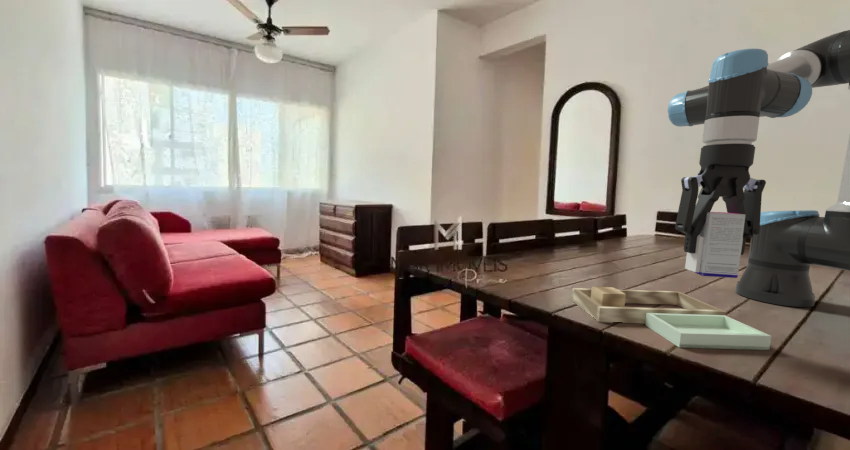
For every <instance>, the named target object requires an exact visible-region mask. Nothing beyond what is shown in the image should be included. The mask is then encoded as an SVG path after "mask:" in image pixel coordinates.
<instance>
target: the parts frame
mask: <svg viewBox="0 0 850 450" xmlns="http://www.w3.org/2000/svg"><path fill="white" fill-rule="evenodd" d="M571 289H572V290H571V301H572V302H573V303H574V302H575V303H574V304H575V305H577V306H578V307H579V306H580V307H579V308H581V309H582V310H583V311H584V310H585V311H584V312H585V313H586V314H588V315H589V314H590V315H591V317H592V318H593V317H594V318H595V319H596V320H595V319H594V318H593V319H594V320H595V321H597V322H598V323H613V322H623V323H624V324H645V322H646V313H666V314H698V315H726V316H727V311H725V310H723V309H720V308H718V307H716V306H714V305H712V304H709V303H707V302H705V301H702V300H701V299H698V298H696V297H693V296H691V295H688V294H686V293H684V292H682V291H677V290H675V291H674V290H673V291H672V290H644V289H641V290H640V289H618V290H619V291H621V292H623V293H625V294H626V297H625V304H641V305H643V304H644V305H645V304H647V305H672V306H673V305H675V306H678V307H681V308H670V307H668V308H665V307H660V308H659V307H638V306H637V307H633V306H632V307H631V306H629V307H628V306H625V307H604V306H601V305H600V304H598V303H597V302H595V301H594V300H593V299H591V289H592V288H584V287H583V288H581V287H579V288H577V287H572V288H571ZM590 315H589V316H590ZM623 323H622V324H623Z"/></svg>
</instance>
